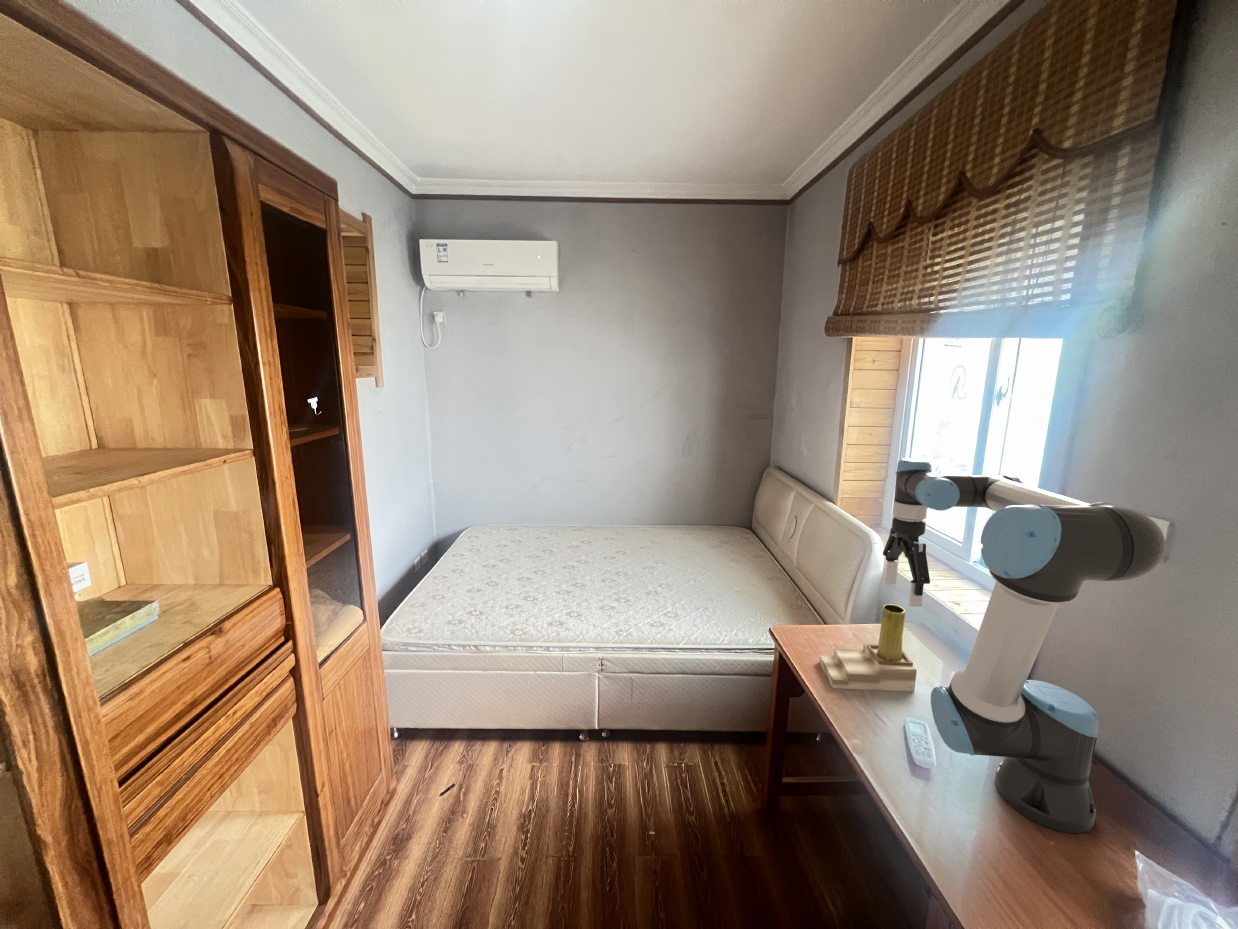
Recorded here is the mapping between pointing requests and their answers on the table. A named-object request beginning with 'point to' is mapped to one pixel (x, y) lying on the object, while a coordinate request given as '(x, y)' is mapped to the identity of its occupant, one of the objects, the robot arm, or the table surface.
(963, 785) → the table surface
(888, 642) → the vase
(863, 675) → the step stand
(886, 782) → the table surface
